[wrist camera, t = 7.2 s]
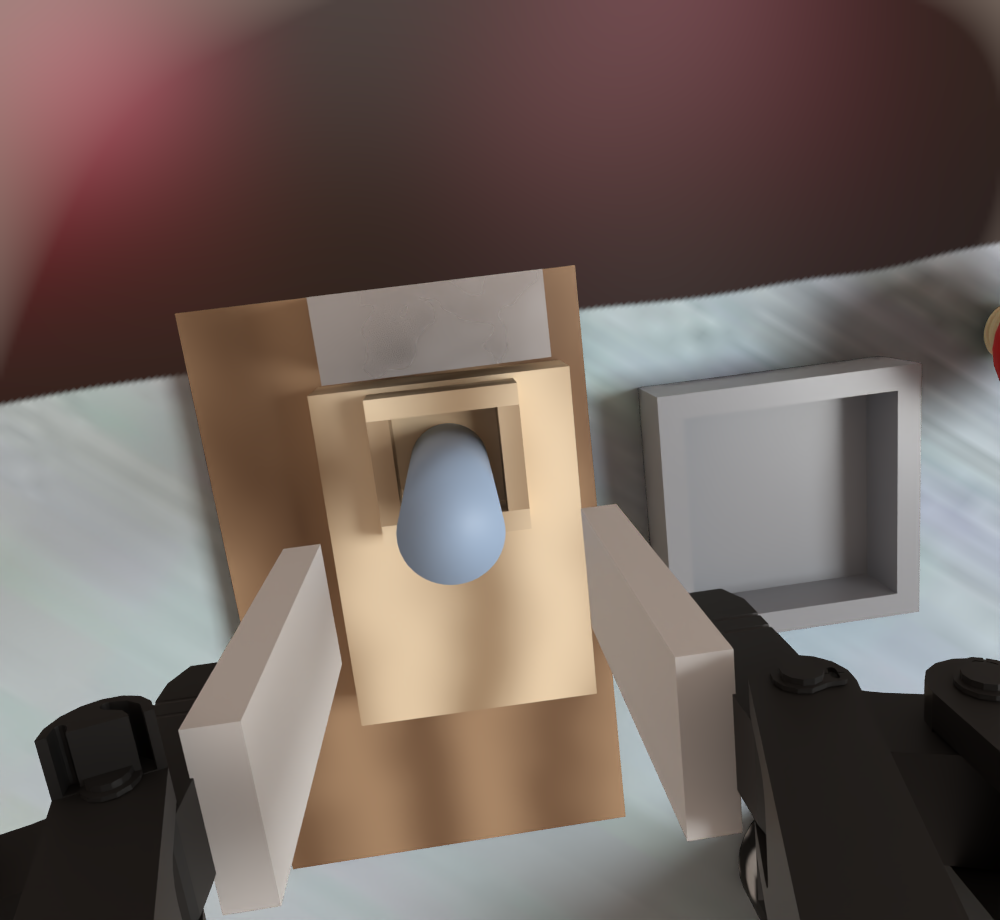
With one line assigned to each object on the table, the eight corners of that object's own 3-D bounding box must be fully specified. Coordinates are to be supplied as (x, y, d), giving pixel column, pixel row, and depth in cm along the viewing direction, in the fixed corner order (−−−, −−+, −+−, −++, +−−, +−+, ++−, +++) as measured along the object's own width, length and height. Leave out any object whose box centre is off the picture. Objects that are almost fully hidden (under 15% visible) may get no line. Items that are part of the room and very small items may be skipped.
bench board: (297, 850, 37) (293, 868, 36) (184, 312, 31) (174, 313, 30) (619, 800, 38) (625, 816, 37) (569, 265, 32) (574, 265, 31)
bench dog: (339, 369, 31) (321, 385, 26) (327, 295, 31) (306, 297, 26) (533, 345, 32) (551, 356, 27) (525, 271, 31) (542, 268, 26)
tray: (655, 618, 36) (674, 647, 33) (638, 387, 34) (657, 397, 31) (880, 585, 37) (919, 611, 34) (880, 356, 34) (921, 362, 31)
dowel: (416, 503, 30) (404, 591, 21) (405, 428, 29) (388, 488, 21) (492, 492, 30) (511, 577, 22) (483, 418, 30) (498, 474, 21)
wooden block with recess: (367, 694, 35) (358, 747, 31) (317, 387, 31) (300, 402, 27) (585, 665, 35) (604, 712, 31) (559, 359, 32) (576, 370, 28)
